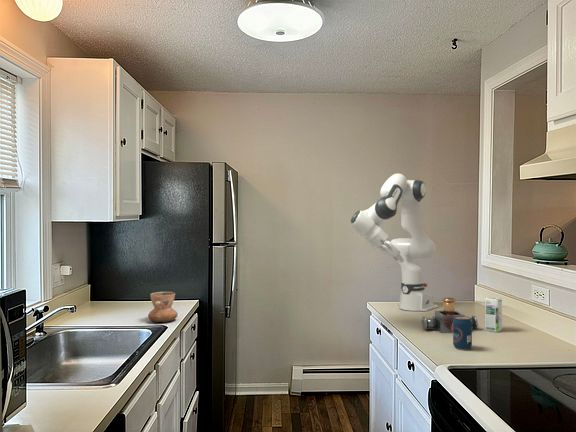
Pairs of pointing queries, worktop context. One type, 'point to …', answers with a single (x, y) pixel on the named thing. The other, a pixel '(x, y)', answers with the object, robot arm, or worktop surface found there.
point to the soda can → (462, 332)
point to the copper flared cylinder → (449, 306)
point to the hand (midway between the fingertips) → (400, 260)
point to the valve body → (444, 322)
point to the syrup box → (493, 314)
